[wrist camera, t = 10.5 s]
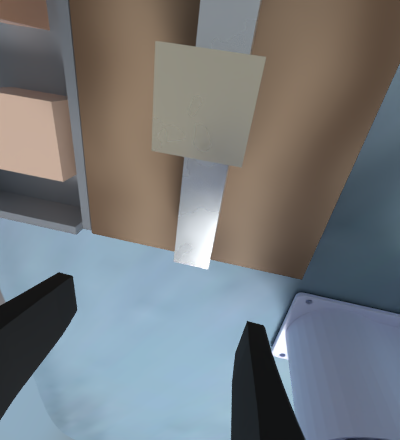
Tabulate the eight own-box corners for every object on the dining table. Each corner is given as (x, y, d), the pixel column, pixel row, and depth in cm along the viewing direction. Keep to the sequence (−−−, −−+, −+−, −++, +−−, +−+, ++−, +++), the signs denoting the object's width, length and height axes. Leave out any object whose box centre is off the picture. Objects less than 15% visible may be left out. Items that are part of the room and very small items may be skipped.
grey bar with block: (318, -200, 8) (417, -624, 3) (221, 246, 16) (208, 314, 12) (221, -205, 8) (177, -602, 3) (176, 236, 17) (146, 299, 12)
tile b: (79, 98, 15) (51, 101, 13) (86, 169, 18) (63, 181, 16) (11, 86, 16) (-26, 88, 14) (26, 157, 18) (-4, 168, 16)
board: (487, -208, 9) (565, -304, 6) (296, 256, 19) (302, 279, 17) (84, -228, 10) (38, -313, 8) (109, 216, 20) (91, 233, 18)
